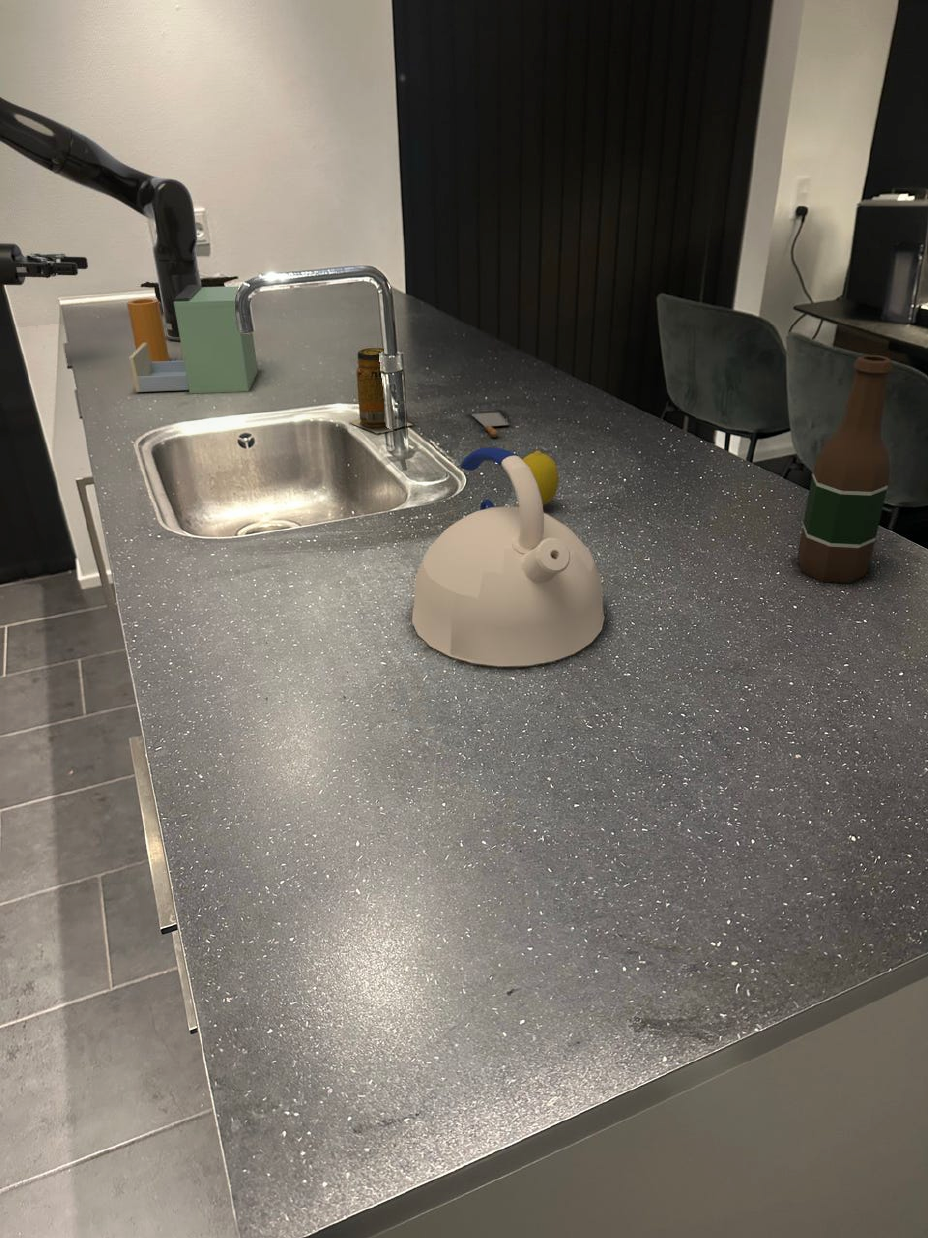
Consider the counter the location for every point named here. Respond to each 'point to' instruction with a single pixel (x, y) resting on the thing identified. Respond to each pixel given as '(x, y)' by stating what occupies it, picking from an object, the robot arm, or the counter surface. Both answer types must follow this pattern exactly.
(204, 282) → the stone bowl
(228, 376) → the green open box
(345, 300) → the counter surface
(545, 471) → the lemon
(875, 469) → the beer bottle
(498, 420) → the cleaver
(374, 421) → the condiment
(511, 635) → the kettle
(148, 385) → the beige drawer
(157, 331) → the jar
